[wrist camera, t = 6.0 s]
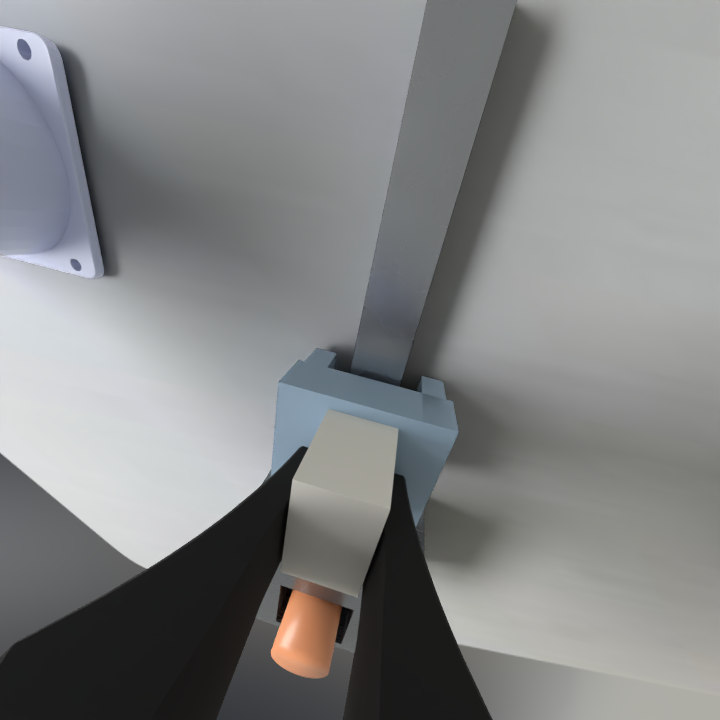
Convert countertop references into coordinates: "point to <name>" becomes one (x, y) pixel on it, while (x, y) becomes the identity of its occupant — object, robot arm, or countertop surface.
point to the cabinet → (351, 605)
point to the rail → (427, 173)
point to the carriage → (353, 463)
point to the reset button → (307, 635)
